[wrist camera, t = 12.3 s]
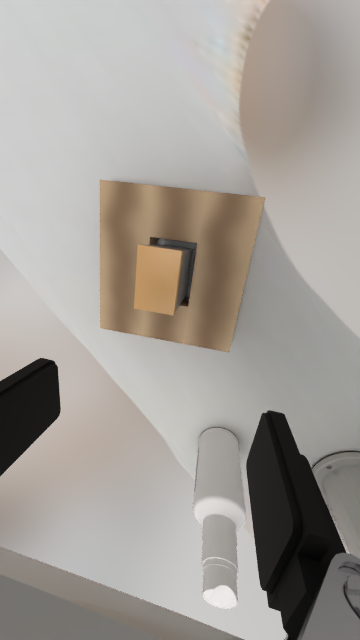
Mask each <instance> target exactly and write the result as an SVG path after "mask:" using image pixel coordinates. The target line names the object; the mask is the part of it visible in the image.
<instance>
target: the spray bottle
mask: <svg viewBox="0 0 360 640" xmlns="http://www.w3.org/2000/svg"><path fill="white" fill-rule="evenodd" d="M193 511H194V516H195V518H196V519H197V521H198V522H199V523H200V524H201V525H202V526H203V531H202V540H203V546H202V567H203V597H204V599H205V600H206V601H207V602H208V603H209V604H211V605H213V606H216V607H219V608H225V609H229V608H233V607H235V606H236V605H237V603H238V598H237V582H236V580H237V573H238V563H237V548H236V547H237V537H236V531H238V530H239V529H241V528H242V527H243V526H244V524H245V522H246V509H245V500H244V491H243V482H242V473H241V464H240V455H239V446H238V441H237V439H236V437H235V436H234V435H233V434H232V433H231V432H230V431H228V430H226V429H222V428H211V429H208V430H206V431H204V432H203V433H202V435H201V436H200V439H199V446H198V457H197V468H196V479H195V491H194V502H193Z"/></svg>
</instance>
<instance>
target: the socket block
mask: <svg viewBox="0 0 360 640" xmlns="http://www.w3.org/2000/svg"><path fill="white" fill-rule="evenodd" d="M264 201H265V197H256V196H247V195H238V194H228V193H219V192H210V191H200V190H191V189H182V188H172V187H163V186H154V185H145V184H135V183H126V182H117V181H107V180H100V328H103V329H108V330H113V331H119V332H124V333H129V334H135V335H140V336H145V337H151V338H156V339H161V340H166V341H172V342H177V343H182V344H188V345H193V346H198V347H204V348H209V349H214V350H220V351H225V352H229V351H230V346H231V342H232V338H233V333H234V329H235V325H236V321H237V316H238V312H239V308H240V304H241V299H242V295H243V291H244V286H245V282H246V278H247V274H248V269H249V265H250V261H251V257H252V252H253V248H254V244H255V240H256V235H257V231H258V227H259V222H260V218H261V214H262V210H263V205H264ZM158 238H162V239H170V240H177V241H185V242H192V243H197V250H196V257H195V264H194V270H193V277H192V284H191V291H190V298H189V300H187V299H183V301H182V302H181V304H180V306H179V307H178V309H177V310H176V312H175V314H174V315H167V314H162V313H156V312H151V311H145V310H140V309H134V298H135V281H136V265H137V248H138V245H157V241H158Z"/></svg>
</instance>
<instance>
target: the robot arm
mask: <svg viewBox="0 0 360 640" xmlns="http://www.w3.org/2000/svg"><path fill="white" fill-rule="evenodd" d="M59 414H60V396H59V380H58V367H57V365H56V364H55V362H54V361H52V360H48V359H44V358H40V359H38V360H36V361H34V362H32V363H31V364H29V365H27V366H26V367H24V368H22V369H20V370H19V371H17V372H15V373H14V374H12V375H10V376H8V377H7V378H5V379H3V380H2V381H0V476H1V475H2V474H3V473H4V472H5V471H6V470H7V469H8V468H9V467H10V466H11V465H12V464H13V463H14V462H15V461H16V460H17V459H18V458H19V457H20V456H21V455H22V454H23V453H24V452H25V451H26V450H27V448H29V446H30V445H31V444H32V443H33V442H34V441H35V440H36V439H37V438H38V437H39V436H40V435H41V434H42V433H43V432H44V431H45V430H46V429H47V428H48V427H49V426H50V425H51V424H52V423H53V422H54V421H55V420H56V419H57V418H58V416H59ZM246 469H247V478H248V486H249V495H250V503H251V512H252V520H253V529H254V537H255V546H256V554H257V563H258V571H259V579H260V585H261V588H262V590H264V591H267V598H268V605H269V608H272V609H275V610H278V611H281V617H282V623H283V628H284V630H285V631H286V633H287V634H286V637H285V639H284V640H360V452H345V453H339V454H334V455H331V456H329V457H326V458H325V459H323V460H321V461H320V462H318V463H317V464H316V465H315V466H314V468H313V469H311V467H310V465H309V462H308V460H307V458H306V457H305V456H304V455H301V454H300V453H299V450H298V448H297V445H296V443H295V440H294V438H293V435H292V432H291V430H290V427H289V425H288V422H287V420H286V417H285V415H284V414H283V413H279V412H274V411H270V410H269V411H268V412H267V413H263V414H262V416H261V419H260V422H259V425H258V428H257V431H256V434H255V437H254V440H253V443H252V446H251V449H250V452H249V456H248V459H247V465H246ZM327 505H328V506H329V507H330V509H331V511H332V514H333V516H334V518H335V521H336V523H337V525H338V527H339V530H340V532H341V534H342V537H343V539H344V541H345V544H346V546H347V548H348V550H349V553H350V554H347V553H346V551H345V548H344V546H343V544H342V541H341V539H340V536H339V534H338V532H337V529H336V527H335V524H334V522H333V520H332V517H331V515H330V512H329V510H328V508H327ZM0 640H244V639H241V638H239V637H236V636H233V635H231V634H229V633H226V632H224V631H221V630H219V629H216V628H214V627H212V626H209V625H206V624H204V623H202V622H199V621H197V620H194V619H192V618H189V617H187V616H184V615H182V614H179V613H177V612H174V611H171V610H169V609H166V608H163V607H161V606H158V605H155V604H153V603H150V602H147V601H145V600H142V599H139V598H137V597H134V596H132V595H129V594H126V593H124V592H121V591H118V590H116V589H113V588H110V587H107V586H105V585H102V584H100V583H97V582H94V581H92V580H89V579H86V578H84V577H81V576H78V575H76V574H73V573H70V572H68V571H64V570H62V569H59V568H57V567H54V566H51V565H49V564H46V563H43V562H40V561H38V560H35V559H32V558H29V557H27V556H24V555H22V554H19V553H16V552H13V551H11V550H8V549H5V548H3V547H0Z"/></svg>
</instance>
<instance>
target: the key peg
mask: <svg viewBox="0 0 360 640" xmlns="http://www.w3.org/2000/svg"><path fill="white" fill-rule="evenodd" d="M192 255H193V249H187V248H180V247H173V246H167V245H138V248H137V265H136V281H135V298H134V309H140V310H145V311H151V312H156V313H162V314H167V315H174V314H175V312H176V310H177V309H178V307H179V306H180V304H181V302H182V301H183V299H184V298H185V296H186V294H187V289H188V282H189V275H190V268H191V262H192Z"/></svg>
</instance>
